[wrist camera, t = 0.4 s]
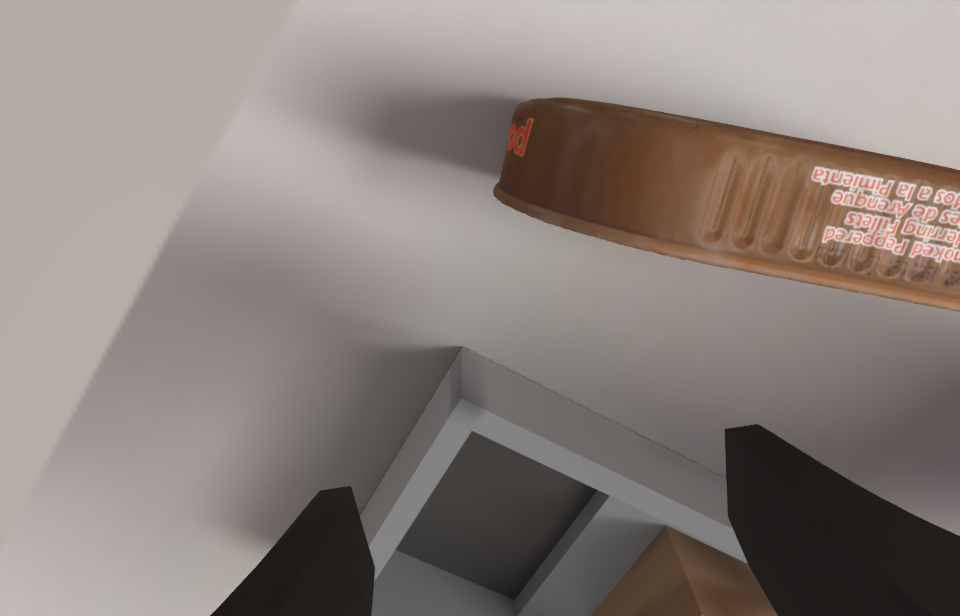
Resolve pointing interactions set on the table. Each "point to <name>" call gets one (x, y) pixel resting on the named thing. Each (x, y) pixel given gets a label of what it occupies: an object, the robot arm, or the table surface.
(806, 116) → the table surface
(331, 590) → the robot arm
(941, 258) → the tin
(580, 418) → the trap channel
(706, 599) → the walnut block
